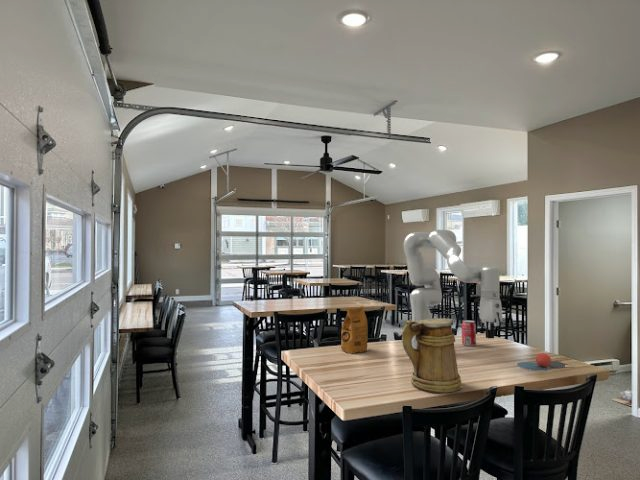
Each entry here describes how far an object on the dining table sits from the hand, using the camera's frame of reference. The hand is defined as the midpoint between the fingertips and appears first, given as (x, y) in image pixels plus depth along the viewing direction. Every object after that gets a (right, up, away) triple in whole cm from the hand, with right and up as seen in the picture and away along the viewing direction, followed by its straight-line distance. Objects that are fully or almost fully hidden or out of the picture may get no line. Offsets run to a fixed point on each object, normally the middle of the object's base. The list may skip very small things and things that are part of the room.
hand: (489, 337), depth 181 cm
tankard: (-32, -13, -23) cm, 41 cm away
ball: (+25, -11, +4) cm, 28 cm away
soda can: (+7, -15, +44) cm, 47 cm away
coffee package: (-56, -14, +30) cm, 65 cm away
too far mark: (+33, -14, +8) cm, 37 cm away
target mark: (+21, -14, +5) cm, 26 cm away
